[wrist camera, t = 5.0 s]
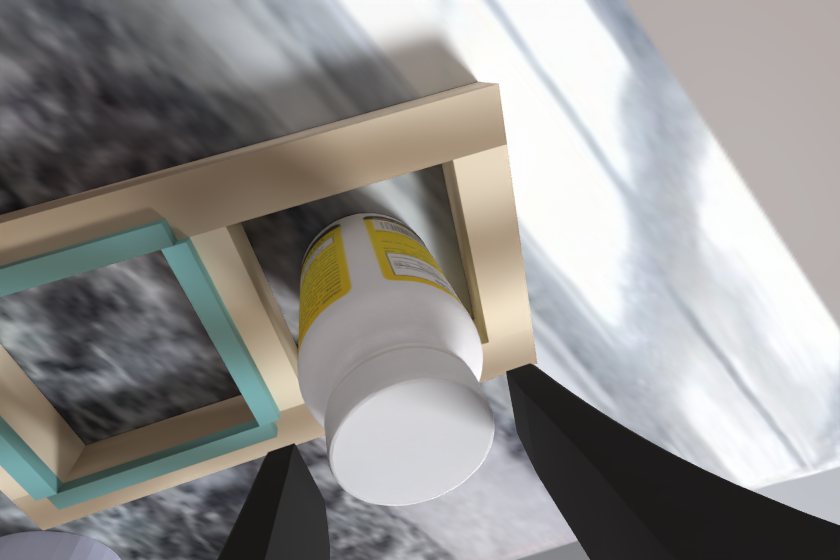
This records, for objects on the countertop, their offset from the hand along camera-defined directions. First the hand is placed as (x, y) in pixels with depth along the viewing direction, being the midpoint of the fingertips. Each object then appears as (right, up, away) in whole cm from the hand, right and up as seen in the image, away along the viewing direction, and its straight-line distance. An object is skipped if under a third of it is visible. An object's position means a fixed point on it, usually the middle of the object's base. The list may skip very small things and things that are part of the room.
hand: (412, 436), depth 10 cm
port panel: (-7, +3, +8) cm, 11 cm away
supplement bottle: (-2, +4, +9) cm, 10 cm away
